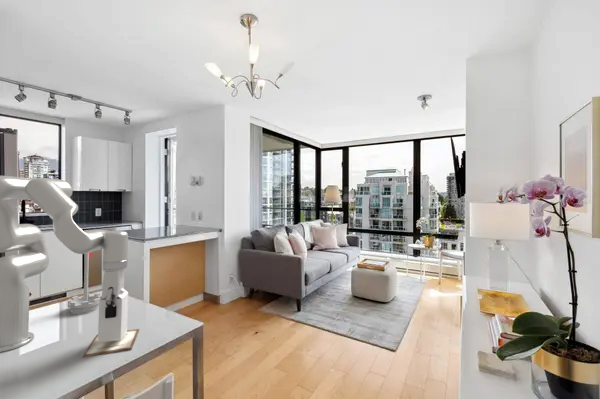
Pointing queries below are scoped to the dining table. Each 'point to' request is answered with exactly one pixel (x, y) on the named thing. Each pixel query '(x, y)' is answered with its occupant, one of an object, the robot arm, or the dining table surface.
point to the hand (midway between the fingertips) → (113, 312)
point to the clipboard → (112, 344)
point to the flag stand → (85, 295)
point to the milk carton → (113, 319)
